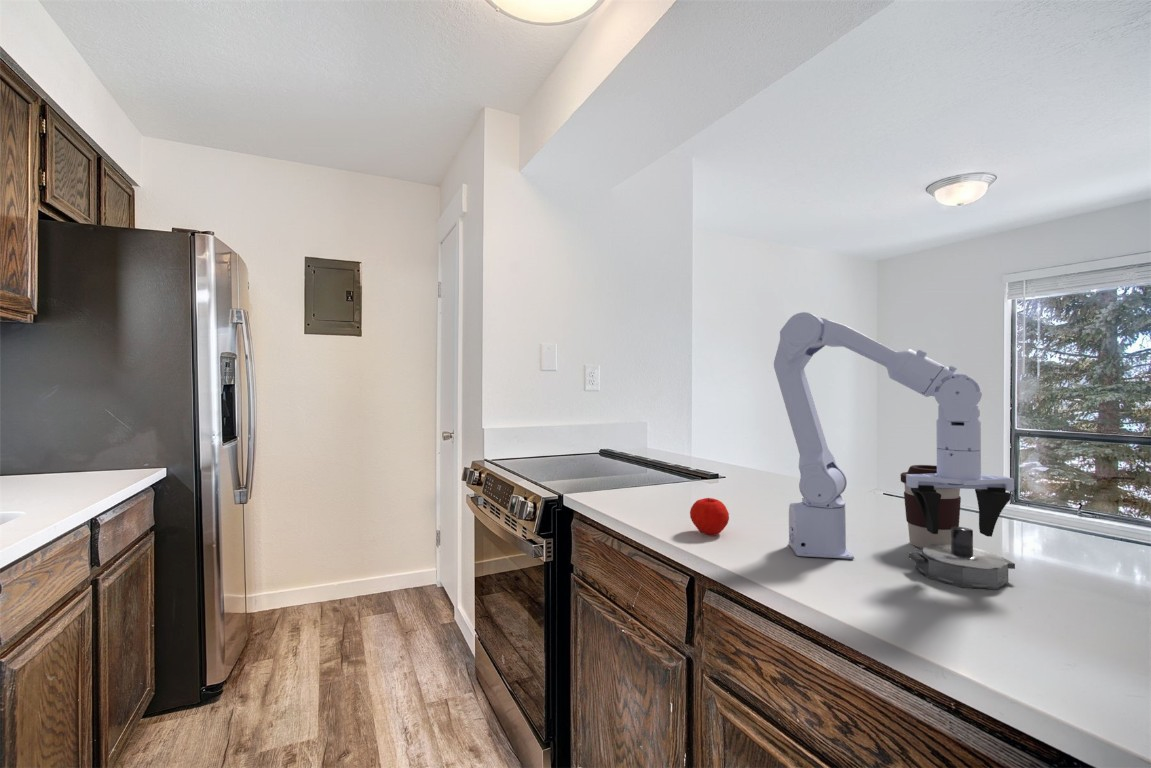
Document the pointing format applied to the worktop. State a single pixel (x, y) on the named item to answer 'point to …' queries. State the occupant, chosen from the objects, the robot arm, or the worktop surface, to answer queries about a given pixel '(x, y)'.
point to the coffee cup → (946, 512)
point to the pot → (962, 573)
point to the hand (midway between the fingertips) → (958, 533)
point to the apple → (709, 516)
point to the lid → (963, 552)
